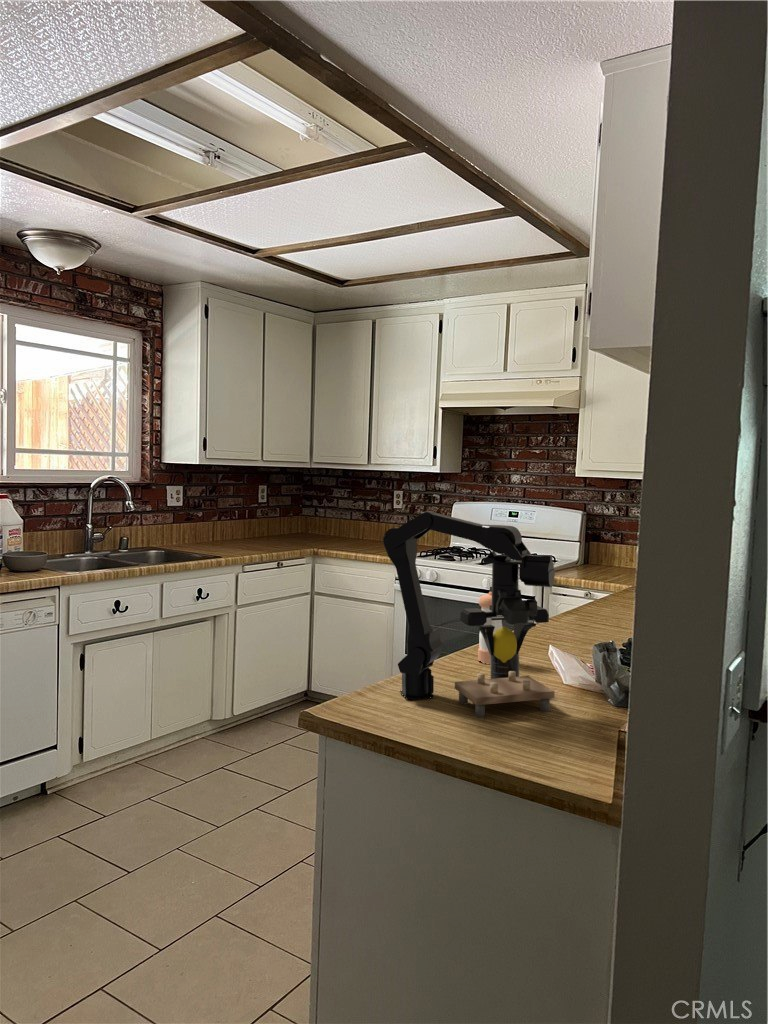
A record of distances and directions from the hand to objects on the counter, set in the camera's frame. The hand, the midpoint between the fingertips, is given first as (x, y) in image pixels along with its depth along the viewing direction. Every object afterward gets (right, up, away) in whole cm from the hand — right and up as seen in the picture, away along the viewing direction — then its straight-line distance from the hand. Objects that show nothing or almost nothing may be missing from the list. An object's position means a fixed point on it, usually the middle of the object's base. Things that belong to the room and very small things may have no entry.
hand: (504, 654), depth 168 cm
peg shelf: (0, -12, +1) cm, 12 cm away
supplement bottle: (+3, -11, +15) cm, 19 cm away
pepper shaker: (+3, -10, +41) cm, 42 cm away
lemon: (0, -2, 0) cm, 2 cm away
